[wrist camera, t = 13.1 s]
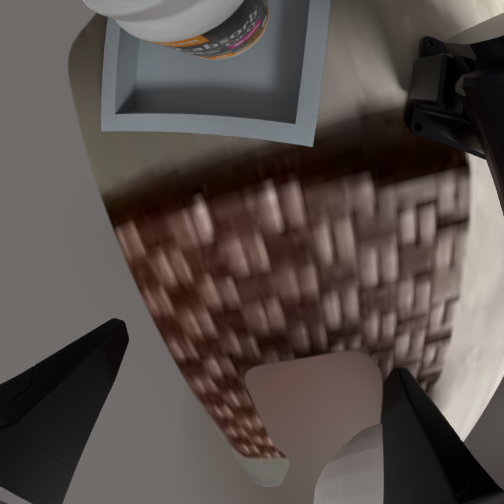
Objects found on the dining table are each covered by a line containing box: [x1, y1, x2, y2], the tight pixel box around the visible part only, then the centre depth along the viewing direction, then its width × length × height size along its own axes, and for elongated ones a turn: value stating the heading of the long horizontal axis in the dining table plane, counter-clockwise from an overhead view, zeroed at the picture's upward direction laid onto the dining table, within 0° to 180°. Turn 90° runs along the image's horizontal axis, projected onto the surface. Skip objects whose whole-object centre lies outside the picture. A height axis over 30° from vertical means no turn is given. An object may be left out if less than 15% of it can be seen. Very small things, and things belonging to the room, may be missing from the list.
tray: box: [101, 0, 331, 147], centre depth 12 cm, size 12×14×3 cm
